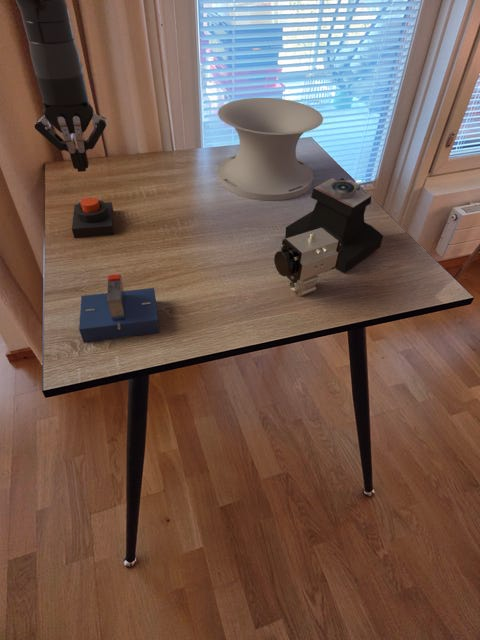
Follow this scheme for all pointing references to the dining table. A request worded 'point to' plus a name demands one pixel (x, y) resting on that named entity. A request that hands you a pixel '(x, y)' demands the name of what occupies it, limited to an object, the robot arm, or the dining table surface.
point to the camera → (341, 220)
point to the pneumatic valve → (308, 258)
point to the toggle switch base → (136, 321)
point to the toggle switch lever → (116, 297)
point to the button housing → (93, 221)
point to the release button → (90, 204)
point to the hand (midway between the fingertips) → (82, 169)
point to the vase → (267, 148)
